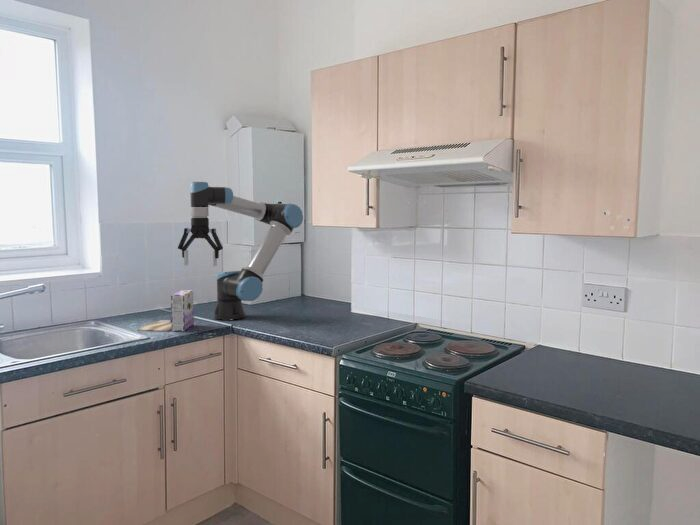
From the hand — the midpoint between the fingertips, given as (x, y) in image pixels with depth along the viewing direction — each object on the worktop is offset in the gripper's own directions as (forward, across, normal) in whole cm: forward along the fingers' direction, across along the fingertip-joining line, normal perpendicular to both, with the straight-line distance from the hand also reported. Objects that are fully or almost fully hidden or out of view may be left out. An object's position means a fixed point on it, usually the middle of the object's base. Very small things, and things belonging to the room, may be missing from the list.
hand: (200, 265), depth 247 cm
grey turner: (+29, +18, -12) cm, 36 cm away
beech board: (+29, +19, 0) cm, 34 cm away
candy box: (+29, +9, 0) cm, 30 cm away
